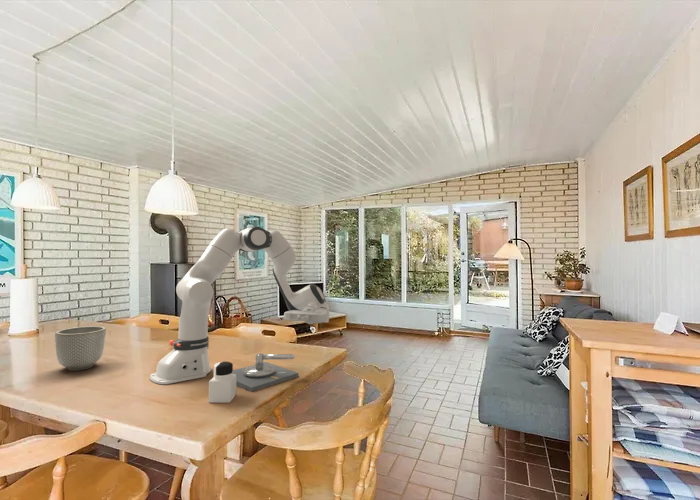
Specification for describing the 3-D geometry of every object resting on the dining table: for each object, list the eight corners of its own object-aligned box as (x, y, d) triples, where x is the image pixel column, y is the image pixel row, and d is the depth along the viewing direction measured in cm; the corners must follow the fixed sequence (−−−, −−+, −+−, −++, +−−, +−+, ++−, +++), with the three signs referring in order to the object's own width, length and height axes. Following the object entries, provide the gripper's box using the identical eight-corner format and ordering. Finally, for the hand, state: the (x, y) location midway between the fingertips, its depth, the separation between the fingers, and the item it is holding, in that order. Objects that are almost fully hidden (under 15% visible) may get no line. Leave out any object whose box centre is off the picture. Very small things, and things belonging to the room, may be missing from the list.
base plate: (251, 391, 128) (251, 387, 128) (219, 377, 142) (219, 373, 142) (298, 376, 144) (298, 372, 145) (265, 365, 159) (265, 361, 159)
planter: (114, 363, 158) (115, 327, 158) (75, 376, 142) (76, 335, 142) (84, 360, 163) (85, 324, 163) (43, 372, 146) (44, 332, 146)
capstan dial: (240, 377, 137) (240, 358, 137) (247, 368, 149) (247, 350, 149) (293, 377, 138) (293, 358, 139) (295, 367, 150) (296, 350, 151)
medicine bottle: (236, 394, 125) (236, 360, 125) (230, 403, 118) (230, 366, 118) (215, 394, 125) (216, 359, 125) (208, 403, 118) (208, 366, 118)
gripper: (291, 306, 170) (277, 310, 157) (332, 308, 165) (321, 312, 152) (291, 319, 170) (277, 325, 157) (332, 322, 165) (321, 327, 152)
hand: (299, 319), depth 154 cm, fingers closed
